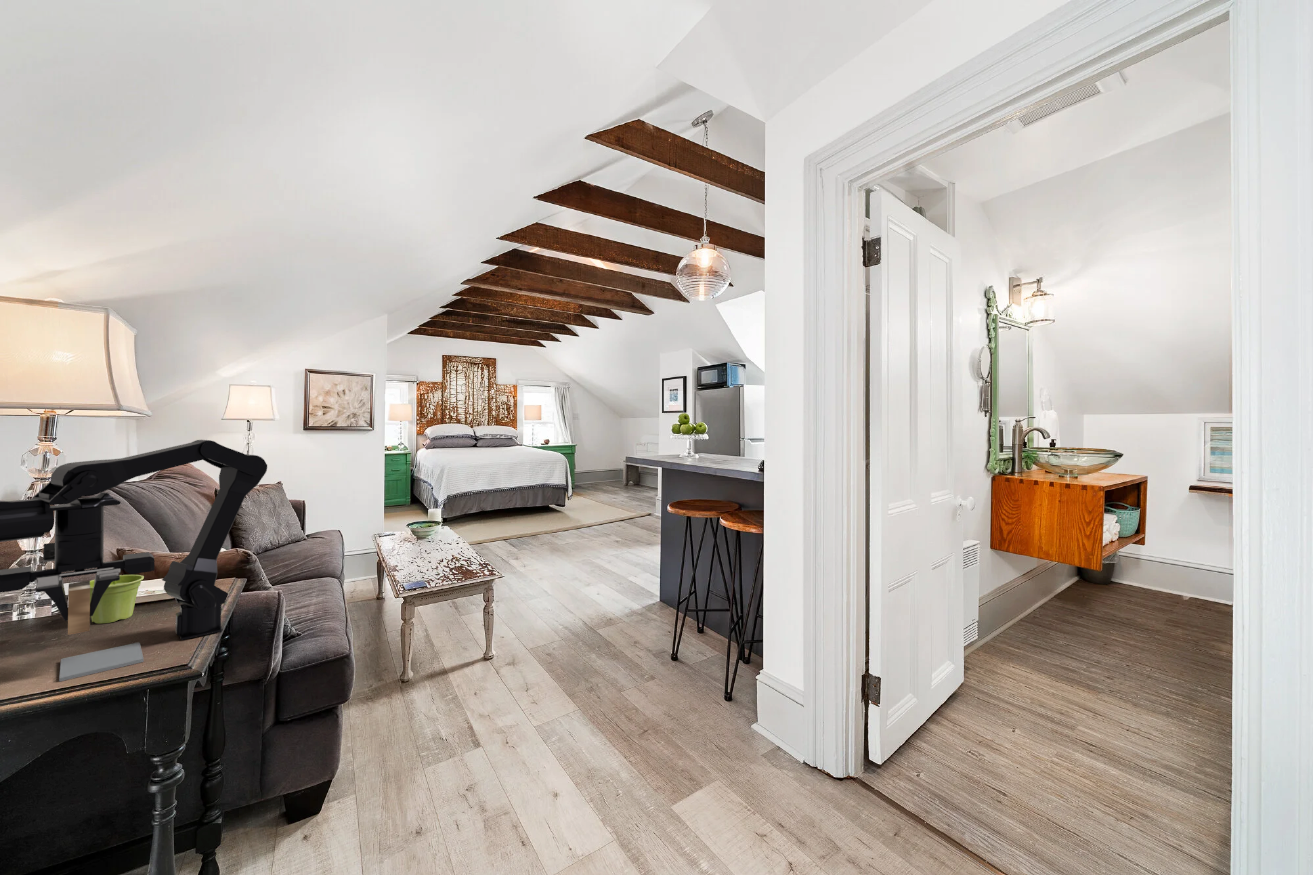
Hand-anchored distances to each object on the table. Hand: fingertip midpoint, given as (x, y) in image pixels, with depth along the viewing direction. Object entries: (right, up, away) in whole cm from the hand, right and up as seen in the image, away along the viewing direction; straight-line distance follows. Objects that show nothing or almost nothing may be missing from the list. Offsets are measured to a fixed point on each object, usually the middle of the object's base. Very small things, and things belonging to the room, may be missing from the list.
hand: (79, 617), depth 89 cm
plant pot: (-18, -8, +21) cm, 29 cm away
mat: (+2, -9, +2) cm, 10 cm away
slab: (0, -2, 0) cm, 2 cm away
